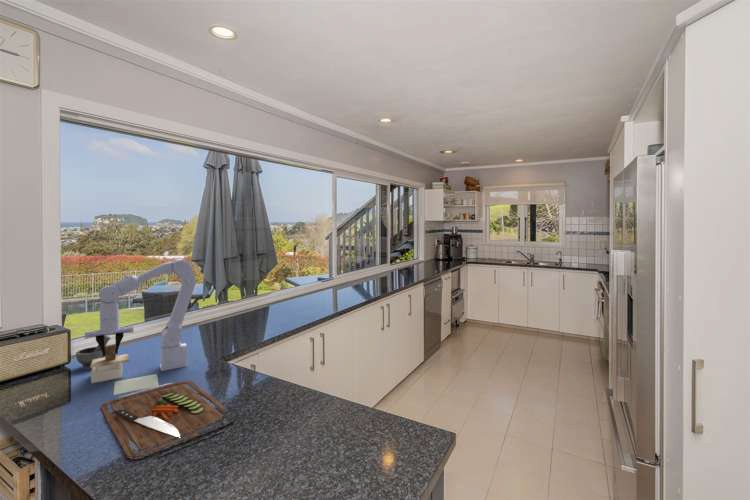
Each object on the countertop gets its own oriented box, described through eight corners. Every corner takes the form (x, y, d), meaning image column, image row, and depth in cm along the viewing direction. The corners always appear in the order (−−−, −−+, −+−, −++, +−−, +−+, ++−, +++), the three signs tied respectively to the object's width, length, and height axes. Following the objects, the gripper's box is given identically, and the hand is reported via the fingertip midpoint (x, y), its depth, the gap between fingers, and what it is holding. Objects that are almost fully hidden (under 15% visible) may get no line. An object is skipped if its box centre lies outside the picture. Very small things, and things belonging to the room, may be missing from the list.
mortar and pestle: (77, 373, 138) (76, 342, 138) (75, 366, 145) (74, 337, 145) (112, 366, 146) (111, 337, 145) (110, 360, 153) (109, 332, 152)
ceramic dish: (122, 371, 141) (122, 361, 141) (121, 378, 133) (121, 368, 133) (93, 376, 136) (93, 365, 135) (91, 384, 128) (90, 373, 128)
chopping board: (243, 425, 102) (243, 415, 102) (132, 470, 83) (132, 457, 82) (187, 380, 133) (187, 372, 133) (97, 405, 114) (97, 396, 114)
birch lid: (128, 355, 140) (128, 341, 141) (128, 361, 131) (128, 346, 132) (92, 361, 134) (92, 345, 134) (90, 368, 125) (90, 351, 125)
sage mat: (156, 374, 137) (156, 373, 137) (158, 386, 126) (158, 385, 126) (114, 382, 130) (114, 381, 130) (113, 396, 119) (113, 395, 119)
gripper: (83, 323, 125) (84, 361, 126) (133, 317, 133) (134, 353, 134) (85, 319, 131) (86, 355, 131) (132, 314, 139) (133, 348, 140)
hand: (110, 354), depth 133 cm, fingers closed on birch lid, 3 cm apart
